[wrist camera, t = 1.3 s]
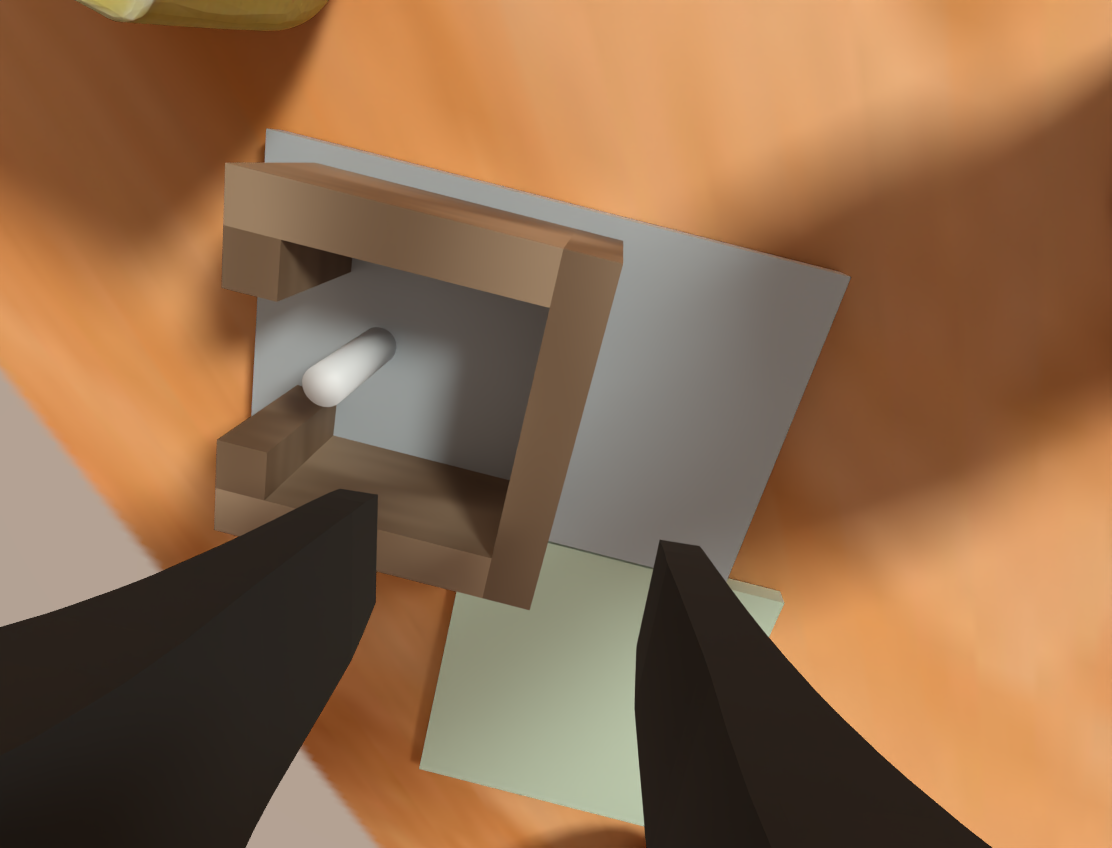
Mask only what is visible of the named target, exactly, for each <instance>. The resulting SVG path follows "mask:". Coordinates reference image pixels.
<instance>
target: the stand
mask: <svg viewBox="0 0 1112 848" xmlns="http://www.w3.org/2000/svg"><path fill="white" fill-rule="evenodd" d="M265 163H319V164H323V165H327V166H331V167H335V168H339V169H343V170H347V171H351V172H355V173H358V174H362V175H366V176H370V177H374V178H378V179H382V180H386V181H390V182H394V183H398V184H402V185H406V186H410V187H414V188H417V189H421V190H425V191H429V192H433V193H437V194H441V195H445V196H449V197H453V198H457V199H461V200H465V201H469V202H473V203H477V204H480V205H484V206H488V207H492V208H496V209H500V210H504V211H508V212H512V213H516V214H520V215H524V216H528V217H532V218H536V219H539V220H543V221H547V222H551V223H555V224H559V225H563V226H567V227H571V228H575V229H579V230H583V231H587V232H591V233H595V234H599V235H602V236H606V237H610V238H614V239H618V240H622V241H623V267H622V270H621V274H620V278H619V281H618V285H617V289H616V292H615V296H614V300H613V304H612V307H611V311H610V315H609V318H608V322H607V326H606V330H605V333H604V337H603V341H602V344H601V348H600V352H599V355H598V359H597V363H596V367H595V370H594V374H593V378H592V381H591V385H590V389H589V393H588V396H587V400H586V404H585V407H584V411H583V415H582V418H581V422H580V426H579V430H578V433H577V437H576V441H575V444H574V448H573V452H572V456H571V459H570V463H569V467H568V470H567V474H566V478H565V482H564V485H563V489H562V493H561V496H560V500H559V504H558V507H557V511H556V515H555V519H554V522H553V526H552V530H551V533H550V537H549V541H550V542H554V543H558V544H562V545H566V546H570V547H574V548H578V549H582V550H586V551H590V552H594V553H598V554H601V555H605V556H609V557H613V558H617V559H621V560H625V561H629V562H633V563H637V564H641V565H645V566H649V567H652V568H654V563H655V558H656V554H657V549H658V545H659V540H665V541H672V542H678V543H684V544H690V545H697V546H700V547H701V548H702V549H703V551H704V552H705V553H706V555H707V556H708V558H709V559H710V560H711V562H712V563H713V565H714V566H715V567H716V569H717V570H718V571H719V573H720V574H721V576H722V577H723V578H724V580H725V581H726V582H727V579H728V577H729V574H730V572H731V569H732V567H733V565H734V562H735V560H736V557H737V555H738V552H739V550H740V547H741V545H742V543H743V540H744V538H745V535H746V533H747V530H748V528H749V525H750V523H751V521H752V518H753V516H754V513H755V511H756V508H757V506H758V503H759V501H760V499H761V496H762V494H763V491H764V489H765V486H766V484H767V481H768V479H769V477H770V474H771V472H772V469H773V467H774V464H775V462H776V459H777V457H778V455H779V452H780V450H781V447H782V445H783V442H784V440H785V437H786V435H787V433H788V430H789V428H790V425H791V423H792V420H793V418H794V415H795V413H796V411H797V408H798V406H799V403H800V401H801V398H802V396H803V393H804V391H805V389H806V386H807V384H808V381H809V379H810V376H811V374H812V371H813V369H814V367H815V364H816V362H817V359H818V357H819V354H820V352H821V349H822V347H823V345H824V342H825V340H826V337H827V335H828V332H829V330H830V327H831V325H832V323H833V320H834V318H835V315H836V313H837V310H838V308H839V305H840V303H841V301H842V298H843V296H844V293H845V291H846V288H847V286H848V284H849V281H850V279H851V277H850V276H848V275H846V274H844V273H842V272H839V271H835V270H831V269H827V268H823V267H819V266H815V265H811V264H807V263H803V262H799V261H796V260H792V259H788V258H784V257H780V256H776V255H772V254H768V253H764V252H760V251H756V250H752V249H748V248H744V247H740V246H736V245H733V244H729V243H725V242H721V241H717V240H713V239H709V238H705V237H701V236H697V235H693V234H689V233H685V232H681V231H677V230H674V229H670V228H666V227H662V226H658V225H654V224H650V223H646V222H642V221H638V220H634V219H630V218H626V217H622V216H618V215H614V214H611V213H607V212H603V211H599V210H595V209H591V208H587V207H583V206H579V205H575V204H571V203H567V202H563V201H559V200H555V199H551V198H548V197H544V196H540V195H536V194H532V193H528V192H524V191H520V190H516V189H512V188H508V187H504V186H500V185H496V184H492V183H488V182H485V181H481V180H477V179H473V178H469V177H465V176H461V175H457V174H453V173H449V172H445V171H441V170H437V169H433V168H429V167H425V166H422V165H418V164H414V163H410V162H406V161H402V160H398V159H394V158H390V157H386V156H382V155H378V154H374V153H370V152H366V151H363V150H359V149H355V148H351V147H347V146H343V145H339V144H335V143H331V142H327V141H323V140H319V139H315V138H311V137H307V136H303V135H300V134H296V133H292V132H288V131H284V130H276V129H266V144H265ZM549 309H550V308H548V307H544V306H540V305H536V304H532V303H528V302H524V301H520V300H516V299H512V298H509V297H505V296H501V295H497V294H493V293H489V292H485V291H481V290H477V289H473V288H469V287H465V286H461V285H457V284H454V283H450V282H446V281H442V280H438V279H434V278H430V277H426V276H422V275H418V274H414V273H410V272H406V271H402V270H398V269H395V268H391V267H387V266H383V265H379V264H375V263H371V262H367V261H363V260H359V259H355V258H352V267H351V272H350V273H347V274H345V275H342V276H340V277H337V278H335V279H332V280H330V281H328V282H325V283H323V284H320V285H318V286H315V287H313V288H310V289H308V290H305V291H303V292H300V293H298V294H295V295H293V296H290V297H288V298H285V299H283V300H280V301H278V302H275V301H271V300H268V299H264V298H260V297H258V298H257V317H256V336H255V355H254V374H253V393H252V413H251V416H253V415H254V414H256V413H257V412H258V411H260V410H261V409H263V408H264V407H266V406H267V405H269V404H270V403H272V402H273V401H275V400H276V399H277V398H279V397H280V396H282V395H283V394H285V393H286V392H288V391H289V390H291V389H292V388H294V387H295V386H297V385H299V386H302V387H303V390H304V392H305V394H306V396H307V397H308V398H309V399H310V400H311V401H312V402H313V403H315V404H317V405H319V406H322V407H332V406H335V405H337V406H336V415H335V425H334V434H333V435H334V436H338V437H342V438H346V439H349V440H353V441H357V442H361V443H365V444H369V445H373V446H377V447H381V448H385V449H389V450H393V451H397V452H400V453H404V454H408V455H412V456H416V457H420V458H424V459H428V460H432V461H436V462H440V463H444V464H448V465H452V466H455V467H459V468H463V469H467V470H471V471H475V472H479V473H483V474H487V475H491V476H495V477H499V478H503V479H506V480H510V477H511V473H512V468H513V464H514V460H515V455H516V451H517V447H518V443H519V438H520V434H521V430H522V425H523V421H524V417H525V412H526V408H527V404H528V399H529V395H530V391H531V387H532V382H533V378H534V374H535V369H536V365H537V361H538V356H539V352H540V348H541V343H542V339H543V335H544V330H545V326H546V322H547V318H548V313H549Z"/></svg>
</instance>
